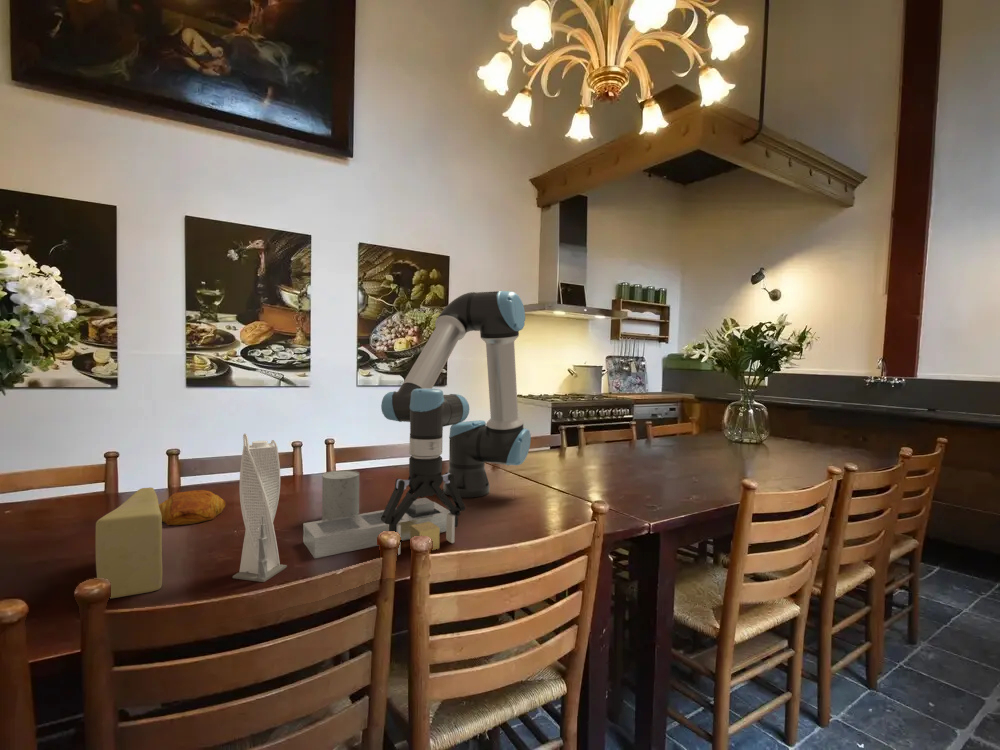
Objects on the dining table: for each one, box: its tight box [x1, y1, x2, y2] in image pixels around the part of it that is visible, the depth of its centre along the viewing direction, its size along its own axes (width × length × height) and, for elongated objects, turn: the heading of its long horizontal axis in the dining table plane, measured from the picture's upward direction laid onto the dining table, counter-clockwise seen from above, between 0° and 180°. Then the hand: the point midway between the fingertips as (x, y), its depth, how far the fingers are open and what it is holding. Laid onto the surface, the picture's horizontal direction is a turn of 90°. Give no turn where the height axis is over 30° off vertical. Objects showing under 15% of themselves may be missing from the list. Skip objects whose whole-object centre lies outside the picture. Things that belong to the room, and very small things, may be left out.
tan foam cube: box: [409, 522, 441, 551], centre depth 114 cm, size 5×5×5 cm
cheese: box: [95, 487, 163, 600], centre depth 98 cm, size 22×10×15 cm, turn 28°
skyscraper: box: [232, 433, 288, 583], centre depth 99 cm, size 8×8×28 cm
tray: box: [302, 497, 451, 559], centre depth 120 cm, size 11×34×7 cm, turn 124°
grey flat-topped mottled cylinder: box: [321, 469, 360, 520], centre depth 132 cm, size 10×10×12 cm
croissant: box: [159, 489, 226, 526], centre depth 131 cm, size 14×16×8 cm
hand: (424, 546), depth 114 cm, fingers open, 13 cm apart
